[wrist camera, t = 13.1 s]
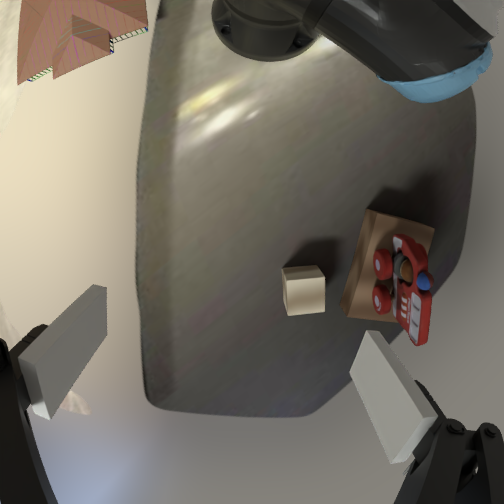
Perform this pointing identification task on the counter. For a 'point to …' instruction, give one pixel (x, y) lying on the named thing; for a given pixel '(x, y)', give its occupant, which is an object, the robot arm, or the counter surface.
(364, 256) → the plinth
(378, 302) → the toy fire truck
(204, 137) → the counter surface
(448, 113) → the counter surface
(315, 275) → the birch block
